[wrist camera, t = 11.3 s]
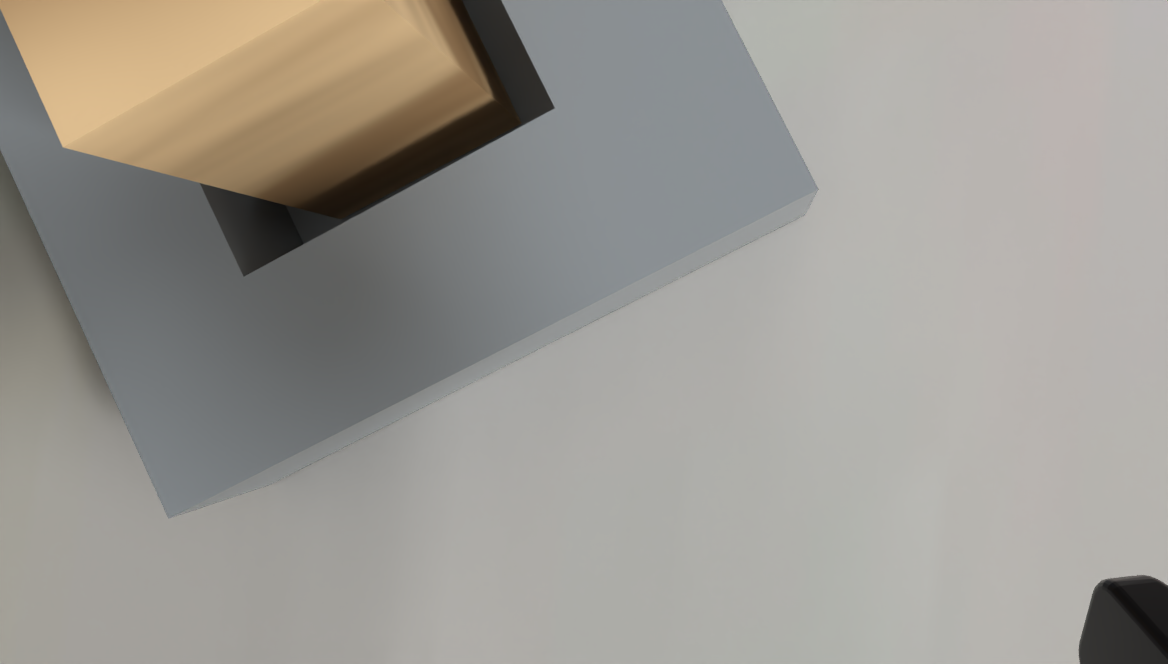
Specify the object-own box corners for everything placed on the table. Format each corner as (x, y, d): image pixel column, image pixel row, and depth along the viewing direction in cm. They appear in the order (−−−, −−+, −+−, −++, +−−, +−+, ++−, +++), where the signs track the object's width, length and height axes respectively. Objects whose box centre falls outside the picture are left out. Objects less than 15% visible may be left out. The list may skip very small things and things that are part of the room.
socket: (804, 214, 21) (818, 189, 17) (269, 484, 23) (168, 518, 19) (526, -331, 22) (477, -477, 18) (31, -26, 24) (-113, -98, 20)
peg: (521, 123, 21) (358, -22, 12) (340, 219, 22) (62, 147, 13) (431, -62, 22) (209, -335, 13) (256, 38, 22) (-73, -155, 13)
